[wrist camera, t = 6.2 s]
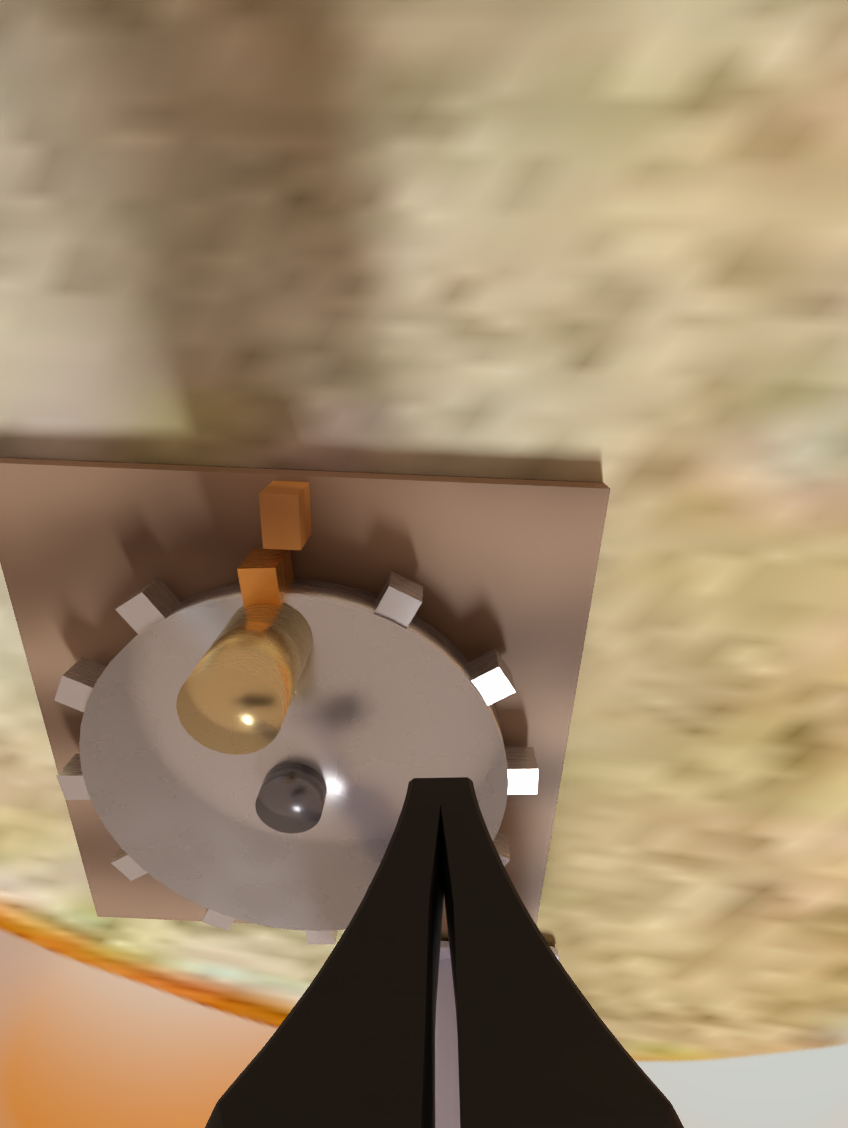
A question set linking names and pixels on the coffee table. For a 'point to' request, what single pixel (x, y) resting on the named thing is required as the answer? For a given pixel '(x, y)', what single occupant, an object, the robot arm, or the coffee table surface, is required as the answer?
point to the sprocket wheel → (281, 740)
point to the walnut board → (318, 551)
